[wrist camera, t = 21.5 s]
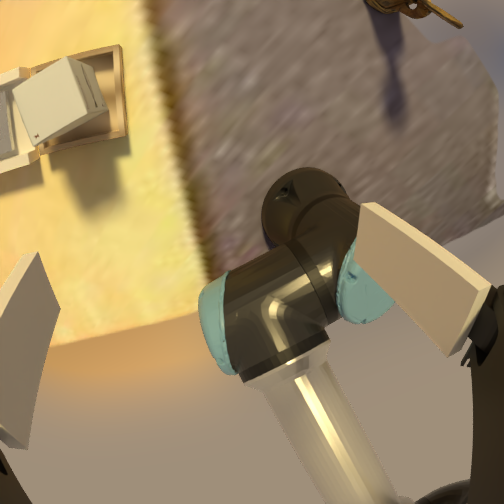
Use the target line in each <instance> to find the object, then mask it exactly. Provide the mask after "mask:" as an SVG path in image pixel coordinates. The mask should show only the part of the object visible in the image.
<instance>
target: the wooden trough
mask: <svg viewBox="0 0 504 504" xmlns="http://www.w3.org/2000/svg"><path fill="white" fill-rule="evenodd" d="M67 57H70V58H72V59H75V60H77V61H80V62H82V63H85V64H87V65H89V66H92V67H93V69H94V73H95V76H96V79H97V82H98V84H99V87H100V90H101V93H102V95H103V98H104V100H105V102H106V104H107V107H108V109H109V110H108V111H107V112H105V113H103V114H101V115H99V116H97V117H95V118H93V119H91V120H90V121H88V122H86V123H84V124H82V125H80V126H78V127H76V128H75V129H73V130H71V131H69V132H67V133H65V134H63V135H60V136H58V137H56V138H53V139H51V140H49V141H46V142H44V143H42V144H40V145H38V146H39V152H40V155H44V154H48V153H51V152H55V151H59V150H63V149H67V148H71V147H75V146H79V145H84V144H88V143H93V142H97V141H102V140H107V139H112V138H117V137H123V136H126V135H127V134H128V127H127V117H126V106H125V94H124V79H123V59H122V47H121V46H120V45H119V44H118V45H113V46H108V47H103V48H99V49H94V50H90V51H86V52H82V53H78V54H74V55H71V56H67ZM60 59H62V58H60ZM60 59H57V60H54V61H50V62H47V63H44V64H41V65H38V66H35V67H33V68H31V77H32V76H34V75H35V74H37V73H39V72H40V71H42V70H43V69H45V68H47V67H49V66H50V65H52V64H54V63H55V62H57V61H59V60H60Z"/></svg>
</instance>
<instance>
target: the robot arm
mask: <svg viewBox="0 0 504 504" xmlns="http://www.w3.org/2000/svg"><path fill="white" fill-rule="evenodd" d="M262 224H263V228H264V230H265V232H266V234H267V236H268V237H269V239H270V240H271V241H272V243H273V244H274V245H275V246H276V248H274V249H272V250H270V251H268V252H266V253H264V254H263V255H261V256H259V257H257V258H255V259H253V260H251V261H249V262H247V263H246V264H244V265H242V266H240V267H238V268H236V269H234V270H232V271H231V270H230V271H227V272H225V274H224V275H223V276H221V277H219V278H218V279H216V280H215V281H213V282H211V283H209V284H208V285H206V286H205V287H204V288H203V289H202V291H201V293H200V295H199V301H198V312H199V318H200V323H201V327H202V331H203V334H204V337H205V340H206V343H207V345H208V348H209V350H210V352H211V354H212V356H213V358H215V360H216V362H217V365H218V366H219V368H220V369H221V370H222V371H223V372H224V373H225V374H227V375H236V374H238V373H239V375H240V377H241V379H242V381H243V383H244V385H245V386H248V387H251V388H254V389H257V390H259V391H261V392H262V393H263V394H264V396H265V398H266V400H267V401H268V403H269V405H270V407H271V409H272V411H273V413H274V414H275V416H276V418H277V420H278V422H279V424H280V426H281V427H282V429H283V431H284V433H285V435H286V436H287V438H288V440H289V442H290V444H291V445H292V447H293V449H294V451H295V452H296V454H297V456H298V458H299V459H300V461H301V463H302V464H303V466H304V468H305V470H306V471H307V473H308V475H309V476H310V478H311V480H312V481H313V483H314V485H315V487H316V488H317V490H318V492H319V493H320V495H321V496H322V498H323V500H324V501H325V503H326V504H504V285H501V286H499V287H498V289H496V288H495V287H494V286H493V285H491V284H490V283H489V282H488V281H486V280H485V279H484V278H483V277H481V276H480V275H479V274H477V273H476V272H475V271H474V270H473V269H471V268H470V267H469V266H467V265H466V264H465V263H463V262H462V261H461V260H459V259H458V258H457V257H455V256H454V255H453V254H451V253H450V252H448V251H447V250H446V249H444V248H443V247H441V246H440V245H439V244H437V243H436V242H434V241H433V240H432V239H430V238H429V237H427V236H426V235H424V234H423V233H421V232H420V231H418V230H417V229H416V228H414V227H413V226H411V225H410V224H408V223H407V222H405V221H403V220H402V219H400V218H399V217H397V216H396V215H394V214H393V213H391V212H390V211H388V210H386V209H385V208H383V207H382V206H380V205H378V204H377V203H375V202H373V203H363V204H361V206H359V205H358V204H356V203H355V202H353V201H352V200H350V198H349V196H348V195H347V194H346V191H345V189H344V188H343V186H342V185H341V183H340V182H339V181H338V180H337V179H336V178H335V177H333V176H332V175H330V174H328V173H327V172H325V171H323V170H320V169H317V168H310V167H306V168H299V169H295V170H293V171H290V172H288V173H286V174H285V175H283V176H282V177H281V178H279V179H278V180H277V181H276V182H275V183H274V184H273V186H272V187H271V188H270V190H269V191H268V193H267V195H266V197H265V199H264V202H263V206H262ZM395 302H396V303H397V304H398V305H399V306H400V307H401V308H402V309H403V310H404V311H405V312H406V313H407V314H408V316H409V317H410V318H411V319H412V320H413V321H414V322H415V323H416V324H417V325H418V326H419V327H420V328H421V329H422V330H423V332H424V333H425V334H426V335H427V336H428V337H429V338H430V339H431V340H432V341H433V342H434V343H435V344H436V346H437V347H438V348H439V349H440V350H441V351H442V352H443V354H444V355H445V356H446V357H447V358H448V357H449V356H451V355H453V354H455V353H456V352H458V351H460V350H461V349H462V347H463V345H464V343H465V341H466V339H467V337H469V338H470V339H471V340H472V343H471V345H470V347H469V349H468V350H467V352H466V354H465V356H464V358H463V359H462V361H461V366H464V364H465V362H466V361H467V359H469V358H470V361H469V363H468V365H467V367H471V376H472V393H473V451H472V465H471V477H470V479H468V480H463V481H459V482H455V483H452V484H449V485H446V486H443V487H440V488H439V489H436V490H434V491H432V492H431V493H429V494H427V495H426V496H424V497H423V498H421V499H419V500H418V501H416V502H414V501H413V500H411V499H410V498H408V497H404V496H398V495H397V493H396V491H395V489H394V487H393V485H392V483H391V481H390V479H389V477H388V475H387V473H386V471H385V469H384V467H383V465H382V463H381V462H380V460H379V458H378V456H377V454H376V452H375V450H374V448H373V446H372V444H371V442H370V440H369V439H368V437H367V435H366V433H365V431H364V430H363V427H362V425H361V423H360V421H359V420H358V418H357V416H356V414H355V412H354V410H353V408H352V407H351V404H350V402H349V401H348V399H347V397H346V395H345V393H344V391H343V389H342V387H341V386H340V384H339V382H338V380H337V378H336V376H335V374H334V373H333V371H332V369H331V367H330V365H329V363H328V361H327V353H328V349H329V346H330V342H331V340H330V339H329V337H328V335H327V333H326V331H325V329H324V328H325V327H326V326H328V325H329V324H331V323H333V322H335V321H336V320H338V319H340V318H342V317H343V318H344V320H347V321H349V322H351V323H353V324H360V323H363V324H366V323H369V322H372V321H374V320H376V319H377V318H379V317H380V316H382V315H383V314H384V313H385V312H387V311H388V310H389V309H390V308H391V307H392V306H393V304H394V303H395ZM59 312H60V306H59V304H58V302H57V299H56V297H55V295H54V292H53V290H52V287H51V285H50V282H49V280H48V277H47V275H46V272H45V269H44V267H43V264H42V261H41V258H40V256H39V253H38V251H37V252H32V253H27V254H23V255H22V256H21V258H20V259H19V261H18V262H17V264H16V265H15V267H14V268H13V270H12V271H11V273H10V274H9V276H8V278H7V279H6V281H5V282H4V284H3V286H2V287H1V289H0V440H1V441H2V442H4V443H5V444H6V445H7V446H8V447H9V448H17V449H26V450H28V445H29V437H30V430H31V424H32V418H33V412H34V406H35V402H36V397H37V392H38V387H39V383H40V379H41V375H42V370H43V367H44V363H45V359H46V355H47V351H48V348H49V344H50V341H51V338H52V334H53V331H54V328H55V324H56V321H57V318H58V315H59ZM0 504H32V503H31V501H30V500H29V498H28V496H27V495H26V493H25V492H24V490H23V489H22V487H21V485H20V483H19V482H18V480H17V478H16V476H15V475H14V473H13V471H12V469H11V468H10V466H9V464H8V462H7V460H6V458H5V456H4V454H3V453H2V451H1V450H0Z"/></svg>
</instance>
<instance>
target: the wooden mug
mask: <svg viewBox="0 0 504 504" xmlns="http://www.w3.org/2000/svg"><path fill="white" fill-rule="evenodd" d="M366 2H367V3H368V4H369V5H370V6H372V7H373V8H374V9H376V10H378V11H380V12H382V13H385V14H389V13H394V12H397V11H400V12H402V13H403V14H405V15H406V16H409V17H411V18H414V19H419V18H423V17H426V16H427V15H429V14H430V13H431V12H433V13H435V14H436V15H437V16H439V17H440V18H442V19H443V20H445V21H446V22H448V23H449V24H451V25H453V26H454V27H456V28H458V29H461V28H462V27H463V24H462V23H461V22H460V21H458V20H457V19H455V18H454V17H453V16H451V15H450V14H448V13H447V12H445V11H444V10H442V9H441V8H439V7H437V6H436V5H434V4H432V3H431V0H366ZM413 3H415V4H417V7H416V8H415V9H413V10H412V9H410V7H409V5H410V4H413Z"/></svg>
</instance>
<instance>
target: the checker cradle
mask: <svg viewBox="0 0 504 504" xmlns="http://www.w3.org/2000/svg"><path fill="white" fill-rule="evenodd" d="M29 78H30V68H25V67H17V68H14V69H12V70H10V71H7V72H5V73H2V74H0V93H1V92H3V91H8V96H9V108H10V117H11V126H12V133H13V140H14V146H15V150H13V151H10V152H7V153H4V154H1V155H0V173H3V172H6V171H9V170H13V169H16V168H19V167H22V166H26V165H29V164H31V163H33V162H34V161H36V160H38V159H39V152H38V146H36V147H33V146H32V143H31V141H30V138H29V136H28V133H27V131H26V129H25V126H24V124H23V122H22V119H21V116H20V113H19V110H18V108H17V105H16V102H15V99H14V96H13V93H12V90H13V89H14V88H16V87H17V86H18V85H20V84H21V83H23V82H24V81H26V80H27V79H29Z"/></svg>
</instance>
